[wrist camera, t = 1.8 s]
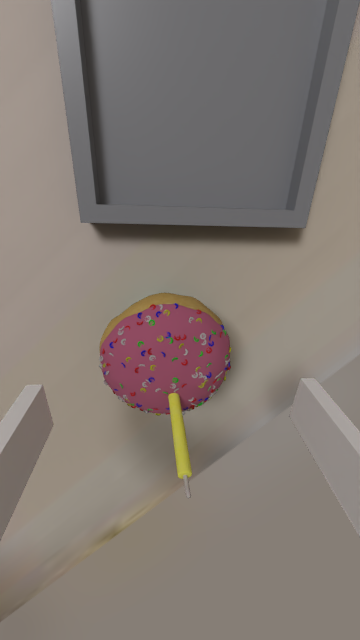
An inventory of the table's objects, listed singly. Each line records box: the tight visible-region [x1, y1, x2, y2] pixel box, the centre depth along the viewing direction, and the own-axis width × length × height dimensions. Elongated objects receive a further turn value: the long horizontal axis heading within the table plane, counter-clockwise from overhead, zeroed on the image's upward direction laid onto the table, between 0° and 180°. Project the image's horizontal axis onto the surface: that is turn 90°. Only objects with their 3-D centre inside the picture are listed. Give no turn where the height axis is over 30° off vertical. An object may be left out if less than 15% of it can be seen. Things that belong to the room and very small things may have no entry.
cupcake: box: [99, 293, 231, 498], centre depth 15 cm, size 9×8×12 cm
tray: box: [51, 0, 360, 228], centre depth 13 cm, size 14×14×2 cm
